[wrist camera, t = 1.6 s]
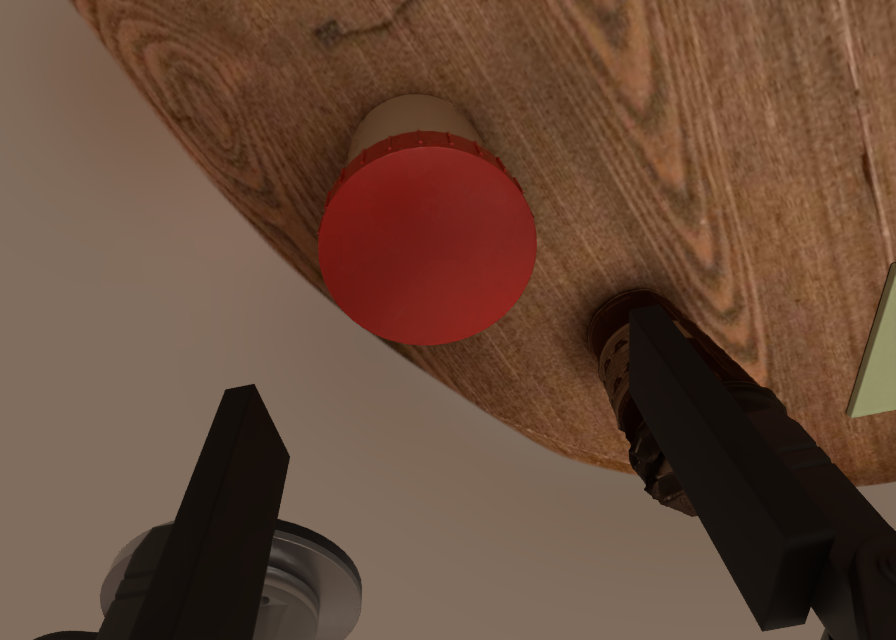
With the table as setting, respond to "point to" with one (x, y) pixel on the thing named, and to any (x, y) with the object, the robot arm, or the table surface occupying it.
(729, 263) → the table surface
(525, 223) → the lid
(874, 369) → the mat
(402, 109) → the jar
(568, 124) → the table surface
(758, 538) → the robot arm
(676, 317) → the coffee cup
